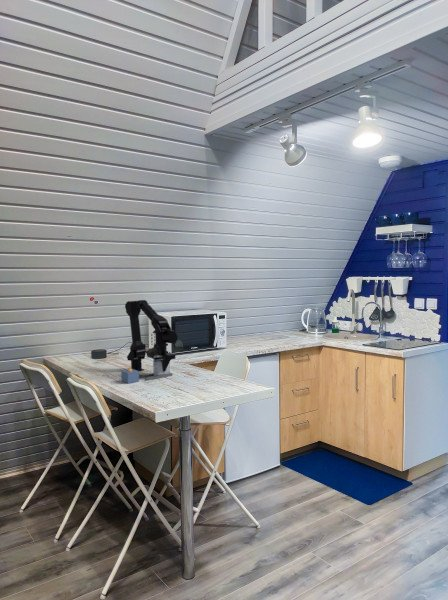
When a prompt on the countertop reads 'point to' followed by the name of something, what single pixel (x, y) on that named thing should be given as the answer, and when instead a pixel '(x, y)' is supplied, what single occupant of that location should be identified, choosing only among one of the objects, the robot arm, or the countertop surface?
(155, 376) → the rails
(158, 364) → the medicine box
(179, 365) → the countertop surface
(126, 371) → the blue hollow block
